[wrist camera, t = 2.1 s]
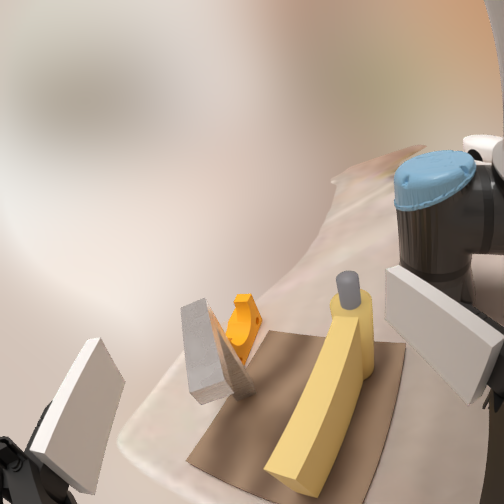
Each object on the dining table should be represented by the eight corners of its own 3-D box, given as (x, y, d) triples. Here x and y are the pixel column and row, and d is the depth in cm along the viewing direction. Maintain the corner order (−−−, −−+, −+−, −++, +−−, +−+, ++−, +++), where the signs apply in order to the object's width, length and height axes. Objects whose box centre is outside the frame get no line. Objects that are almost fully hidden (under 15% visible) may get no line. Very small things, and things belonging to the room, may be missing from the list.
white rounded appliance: (499, 193, 54) (497, 132, 46) (528, 220, 40) (531, 148, 32) (453, 199, 61) (448, 135, 53) (478, 228, 47) (478, 151, 39)
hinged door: (346, 353, 35) (331, 263, 28) (376, 355, 33) (372, 264, 26) (287, 489, 21) (235, 452, 14) (325, 500, 19) (299, 474, 12)
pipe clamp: (241, 320, 51) (228, 294, 48) (262, 320, 49) (251, 293, 46) (217, 372, 42) (199, 347, 39) (240, 374, 40) (224, 349, 37)
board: (405, 348, 33) (405, 343, 33) (353, 522, 16) (352, 522, 15) (271, 335, 45) (269, 330, 45) (190, 463, 28) (185, 460, 27)
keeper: (235, 389, 38) (180, 307, 30) (253, 382, 38) (205, 297, 30) (256, 457, 27) (189, 392, 19) (279, 449, 27) (224, 380, 19)
